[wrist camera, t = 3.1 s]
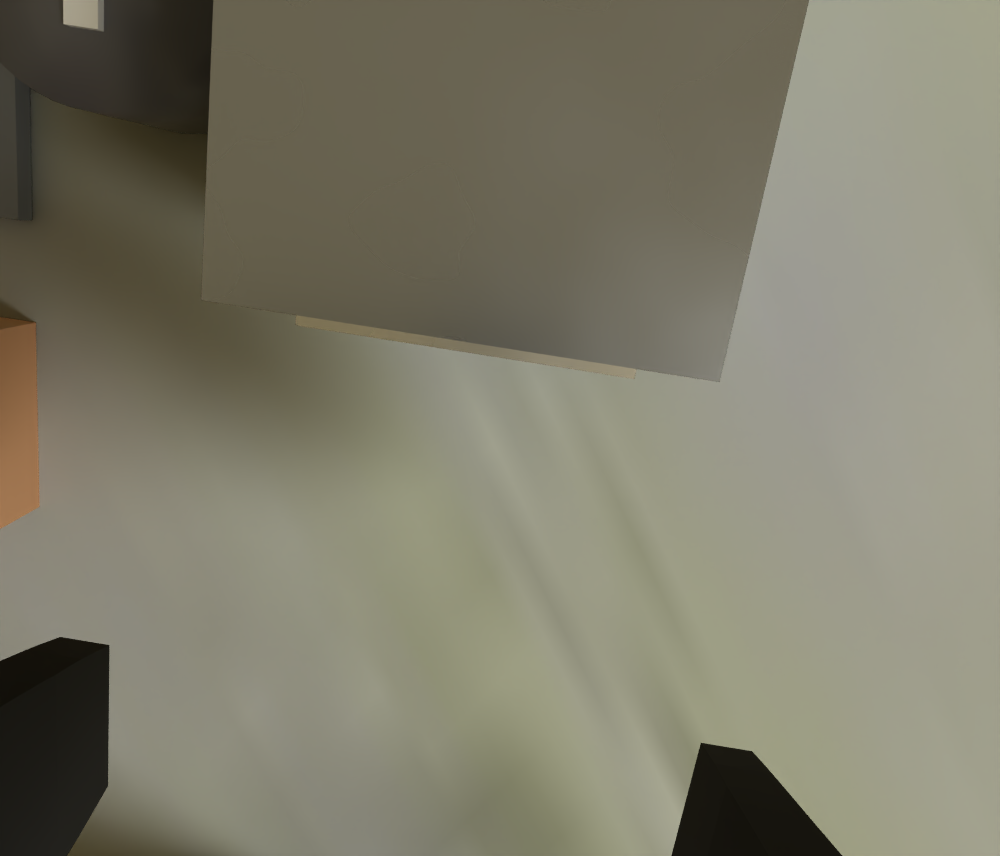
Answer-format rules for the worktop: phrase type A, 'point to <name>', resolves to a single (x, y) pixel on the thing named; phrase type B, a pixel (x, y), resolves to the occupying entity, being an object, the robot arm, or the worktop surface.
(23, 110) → the rubber mat
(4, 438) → the block
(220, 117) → the junction box
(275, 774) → the worktop surface
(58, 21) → the black knob
